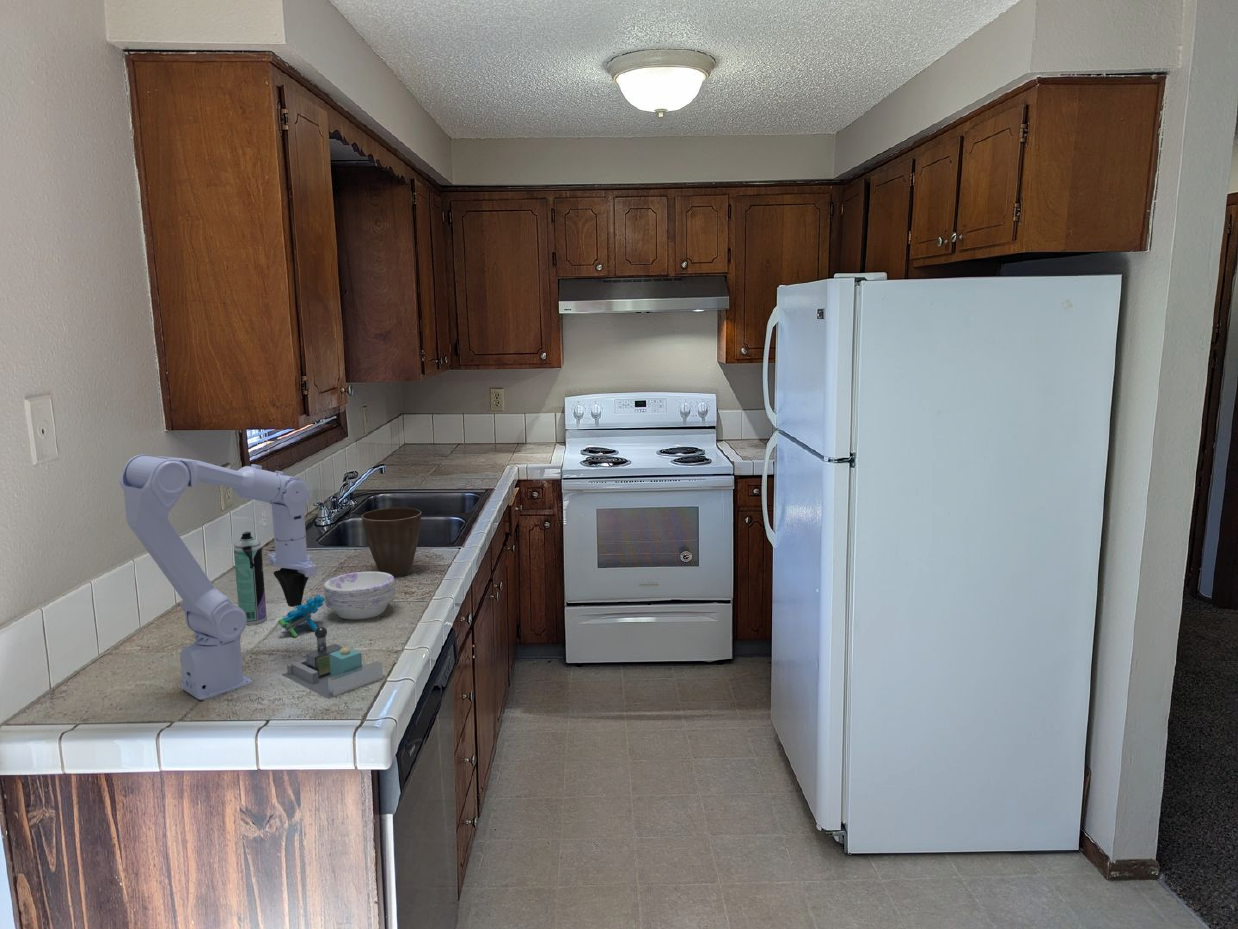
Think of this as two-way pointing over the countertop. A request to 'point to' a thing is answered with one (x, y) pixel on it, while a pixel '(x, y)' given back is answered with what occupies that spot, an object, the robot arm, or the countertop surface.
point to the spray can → (250, 578)
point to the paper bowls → (359, 594)
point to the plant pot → (392, 538)
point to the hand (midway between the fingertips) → (294, 605)
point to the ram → (321, 653)
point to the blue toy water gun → (302, 615)
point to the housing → (344, 660)
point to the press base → (333, 678)
